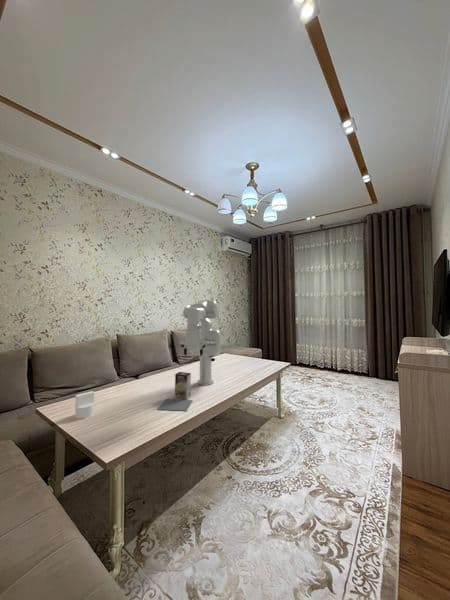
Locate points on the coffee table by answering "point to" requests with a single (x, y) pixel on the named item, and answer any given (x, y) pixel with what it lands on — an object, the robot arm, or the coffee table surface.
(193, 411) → the coffee table surface
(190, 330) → the robot arm
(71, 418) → the coffee table surface
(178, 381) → the coffee box
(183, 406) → the mat
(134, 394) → the coffee table surface
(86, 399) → the translucent cup
